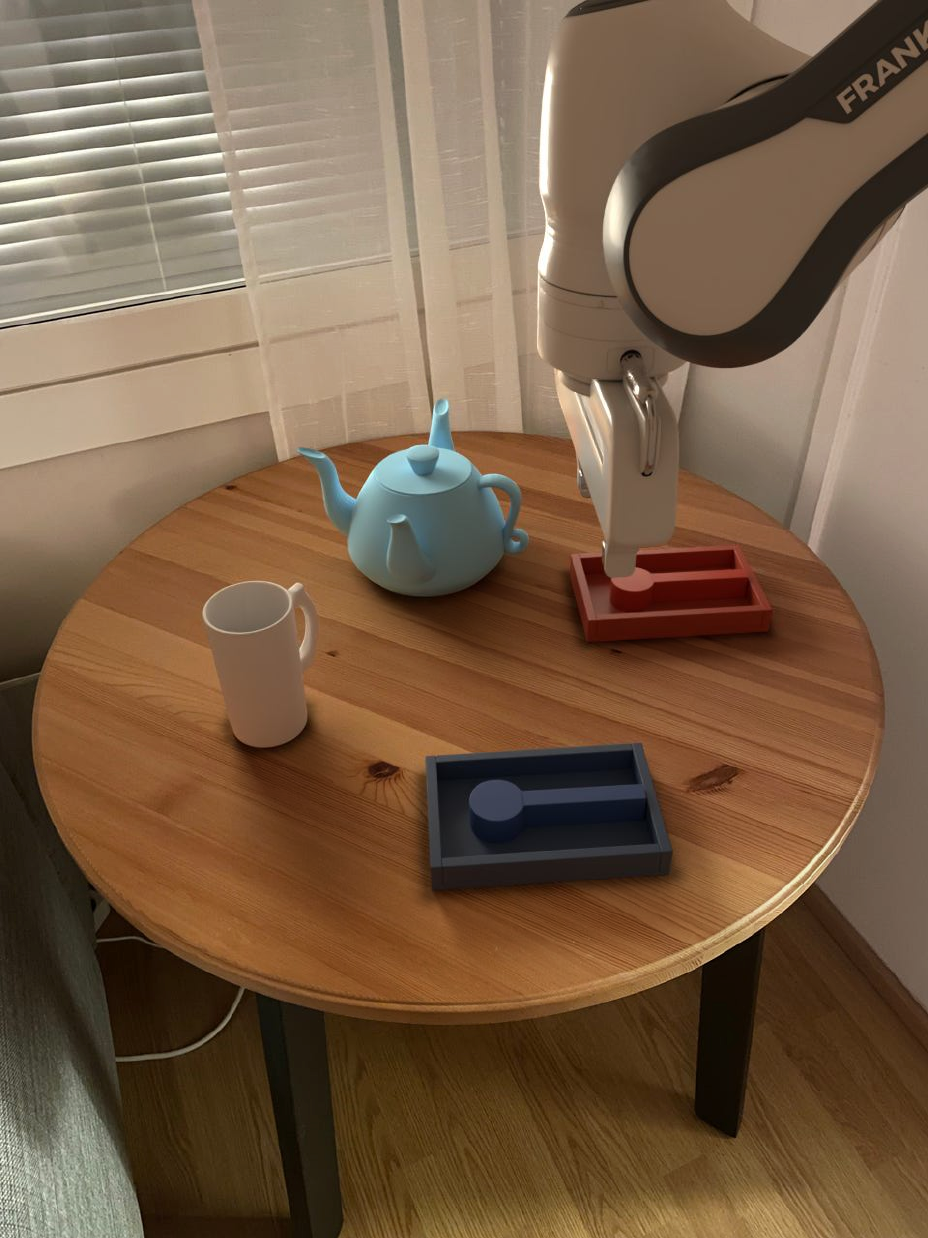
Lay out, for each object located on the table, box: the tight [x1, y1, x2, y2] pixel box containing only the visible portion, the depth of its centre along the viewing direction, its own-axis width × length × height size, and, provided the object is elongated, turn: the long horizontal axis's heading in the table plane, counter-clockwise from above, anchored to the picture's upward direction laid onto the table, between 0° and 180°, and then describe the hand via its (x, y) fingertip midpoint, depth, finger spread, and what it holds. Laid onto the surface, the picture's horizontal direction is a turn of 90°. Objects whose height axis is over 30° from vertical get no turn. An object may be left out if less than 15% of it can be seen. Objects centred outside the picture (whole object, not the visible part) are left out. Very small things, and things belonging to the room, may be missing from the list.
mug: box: [202, 580, 319, 748], centre depth 81 cm, size 10×7×12 cm, turn 143°
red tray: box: [569, 544, 773, 643], centre depth 94 cm, size 17×11×2 cm, turn 94°
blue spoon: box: [469, 780, 646, 843], centre depth 73 cm, size 13×4×2 cm, turn 93°
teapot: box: [296, 398, 530, 598], centre depth 98 cm, size 17×19×12 cm
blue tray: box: [424, 742, 673, 892], centre depth 73 cm, size 17×11×2 cm, turn 94°
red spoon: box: [609, 567, 749, 612], centre depth 94 cm, size 13×4×2 cm, turn 93°
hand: (603, 529), depth 65 cm, fingers open, 8 cm apart
